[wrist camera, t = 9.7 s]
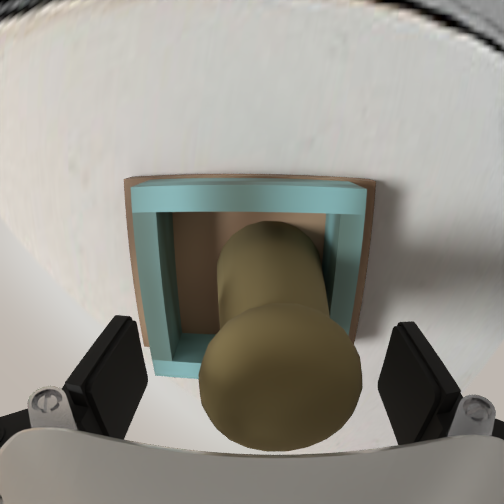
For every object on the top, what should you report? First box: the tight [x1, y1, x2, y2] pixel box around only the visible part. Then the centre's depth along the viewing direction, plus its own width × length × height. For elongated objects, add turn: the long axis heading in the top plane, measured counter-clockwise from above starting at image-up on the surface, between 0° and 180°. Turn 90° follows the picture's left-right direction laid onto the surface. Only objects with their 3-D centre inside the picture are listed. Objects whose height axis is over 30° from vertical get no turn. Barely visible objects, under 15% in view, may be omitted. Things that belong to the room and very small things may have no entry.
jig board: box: [124, 174, 376, 379], centre depth 18 cm, size 14×11×4 cm
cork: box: [198, 221, 362, 451], centre depth 13 cm, size 6×6×11 cm
